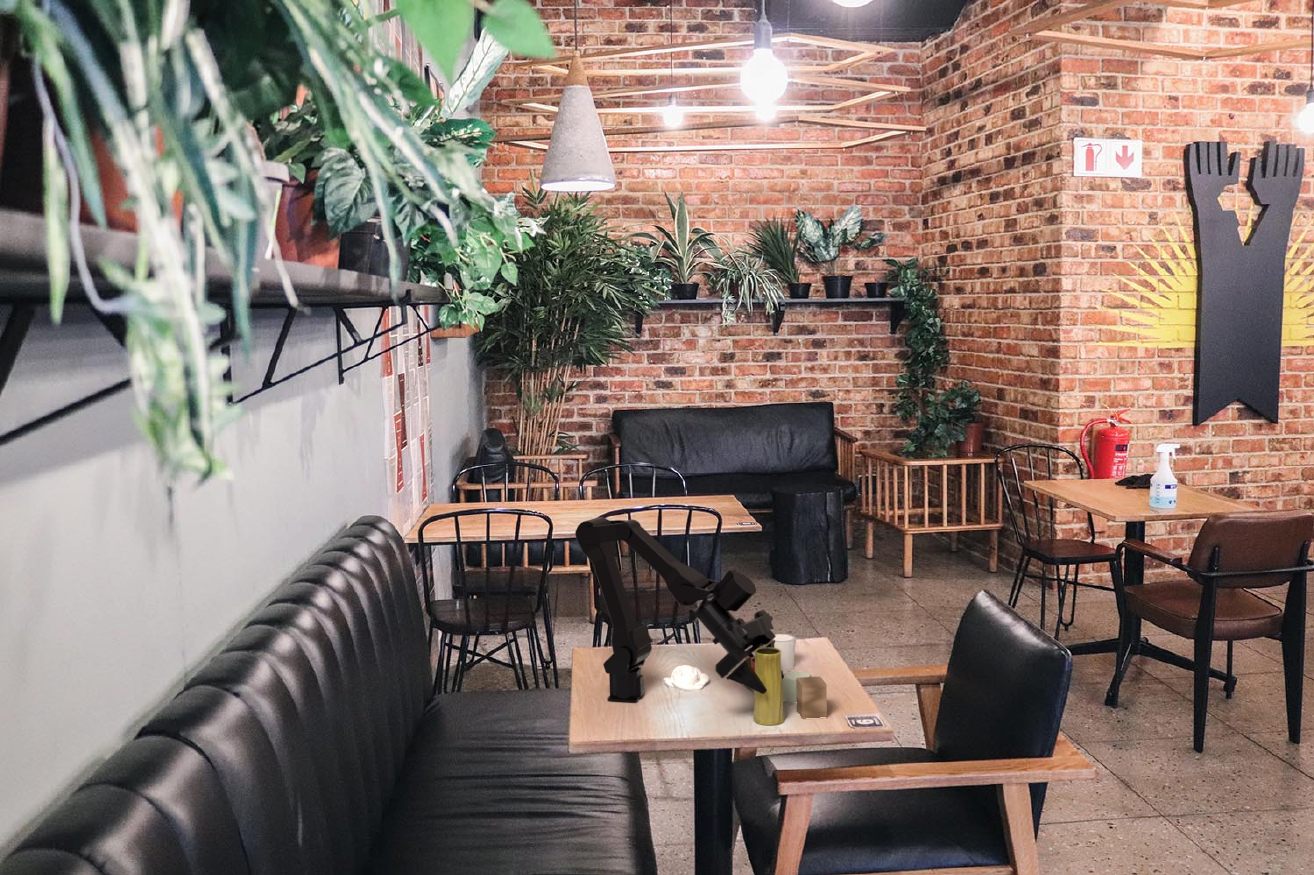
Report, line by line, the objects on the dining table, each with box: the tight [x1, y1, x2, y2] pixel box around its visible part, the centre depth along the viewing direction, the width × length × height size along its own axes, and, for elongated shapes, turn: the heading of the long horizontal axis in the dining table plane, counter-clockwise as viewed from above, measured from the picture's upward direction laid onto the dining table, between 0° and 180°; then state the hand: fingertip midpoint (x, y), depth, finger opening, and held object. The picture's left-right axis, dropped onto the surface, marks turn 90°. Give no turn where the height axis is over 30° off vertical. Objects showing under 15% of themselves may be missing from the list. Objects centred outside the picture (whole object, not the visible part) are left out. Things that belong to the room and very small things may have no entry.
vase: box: [753, 647, 785, 726], centre depth 214 cm, size 6×6×14 cm
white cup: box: [773, 633, 797, 672], centre depth 248 cm, size 7×7×7 cm
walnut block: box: [796, 676, 828, 720], centre depth 217 cm, size 5×5×7 cm
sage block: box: [782, 670, 813, 704], centre depth 227 cm, size 5×5×5 cm
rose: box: [663, 664, 710, 692], centre depth 237 cm, size 10×4×10 cm
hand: (774, 685), depth 213 cm, fingers open, 9 cm apart
